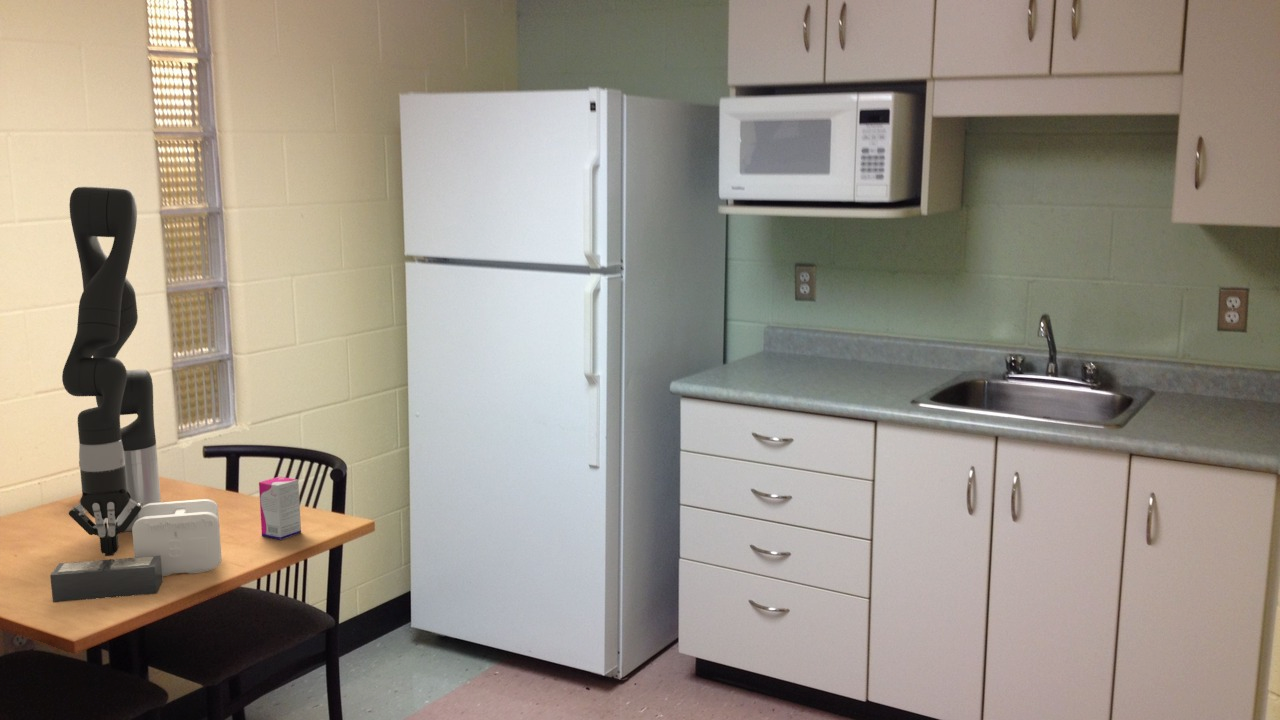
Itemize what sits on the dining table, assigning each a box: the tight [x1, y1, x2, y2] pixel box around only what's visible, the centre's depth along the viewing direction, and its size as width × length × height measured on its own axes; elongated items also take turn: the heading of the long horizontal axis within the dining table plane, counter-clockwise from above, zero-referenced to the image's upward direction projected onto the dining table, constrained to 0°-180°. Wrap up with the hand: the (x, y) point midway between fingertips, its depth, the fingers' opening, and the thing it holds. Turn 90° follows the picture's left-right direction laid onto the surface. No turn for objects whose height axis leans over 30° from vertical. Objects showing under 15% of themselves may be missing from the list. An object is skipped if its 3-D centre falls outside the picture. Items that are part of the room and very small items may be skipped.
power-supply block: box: [49, 556, 164, 603], centre depth 203 cm, size 6×17×5 cm, turn 103°
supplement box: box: [258, 476, 302, 541], centre depth 234 cm, size 6×6×12 cm
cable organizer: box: [131, 498, 222, 577], centre depth 215 cm, size 15×11×12 cm
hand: (110, 554), depth 213 cm, fingers closed
